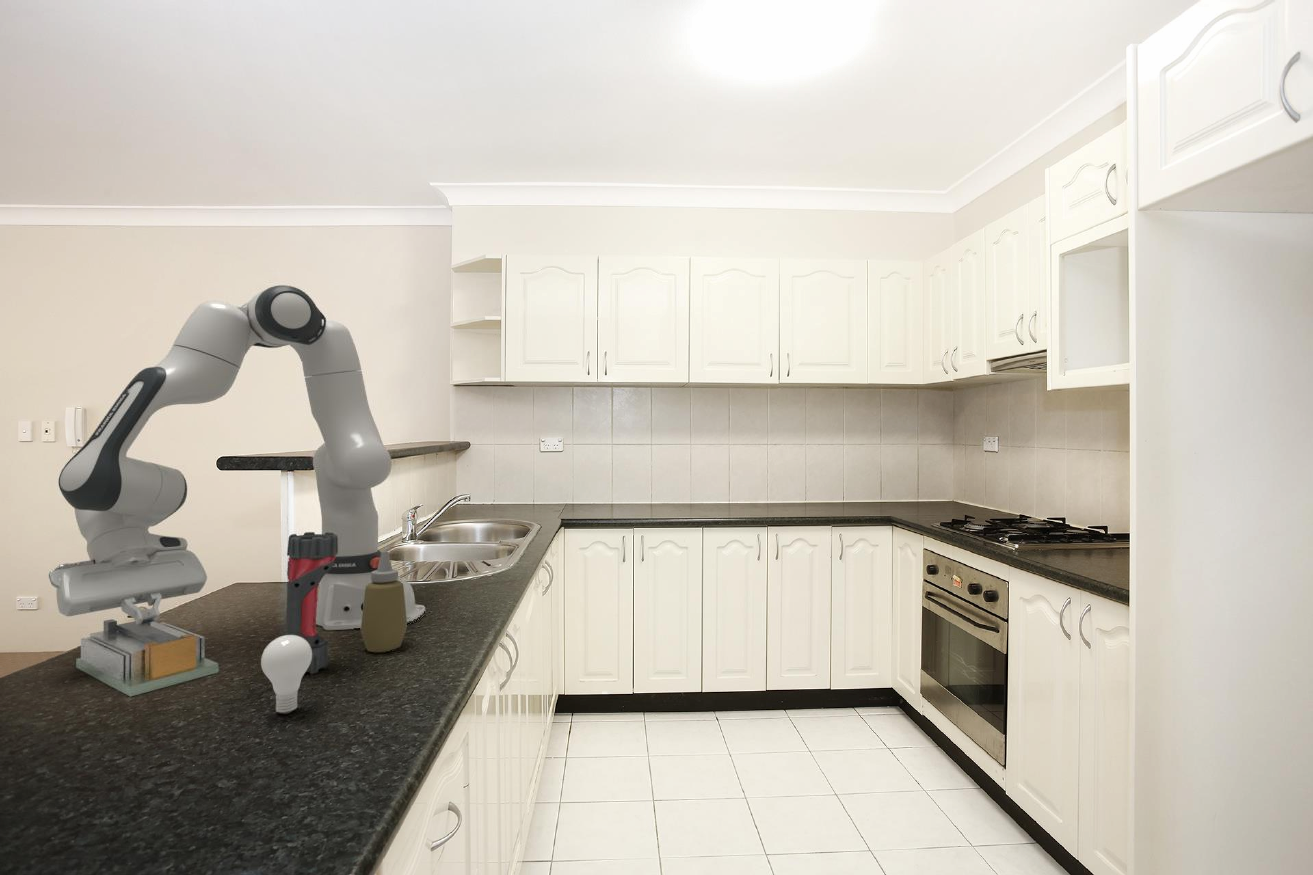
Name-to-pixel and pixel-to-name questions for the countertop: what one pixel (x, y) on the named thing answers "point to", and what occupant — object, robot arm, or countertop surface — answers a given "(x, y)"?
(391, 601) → the squeeze bottle
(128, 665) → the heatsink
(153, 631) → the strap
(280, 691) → the lightbulb
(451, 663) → the countertop surface
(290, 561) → the flashlight
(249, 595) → the countertop surface
